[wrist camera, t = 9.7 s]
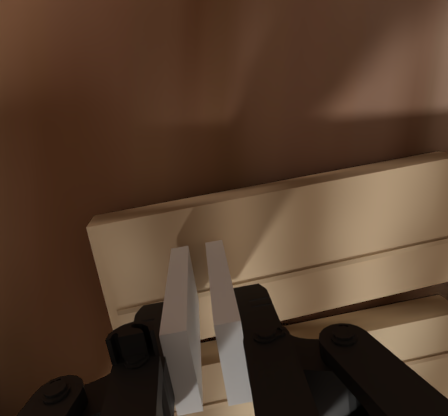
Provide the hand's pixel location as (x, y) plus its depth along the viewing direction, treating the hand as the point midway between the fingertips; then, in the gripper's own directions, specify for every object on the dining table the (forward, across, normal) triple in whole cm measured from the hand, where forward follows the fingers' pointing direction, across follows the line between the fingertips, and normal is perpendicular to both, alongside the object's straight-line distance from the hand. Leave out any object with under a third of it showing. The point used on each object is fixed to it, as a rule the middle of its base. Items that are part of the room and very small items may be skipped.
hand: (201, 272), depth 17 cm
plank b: (+3, +4, 0) cm, 5 cm away
